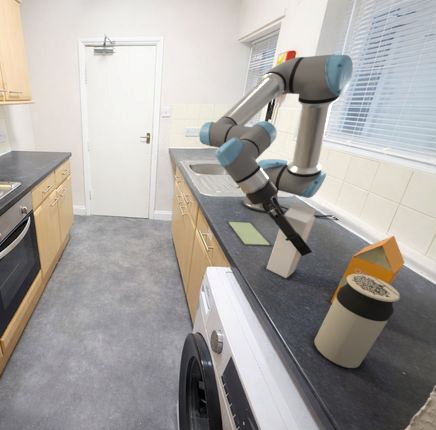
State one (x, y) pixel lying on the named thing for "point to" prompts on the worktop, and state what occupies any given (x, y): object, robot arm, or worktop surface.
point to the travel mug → (355, 319)
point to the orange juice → (375, 262)
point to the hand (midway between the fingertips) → (302, 245)
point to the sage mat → (248, 234)
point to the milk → (284, 250)
